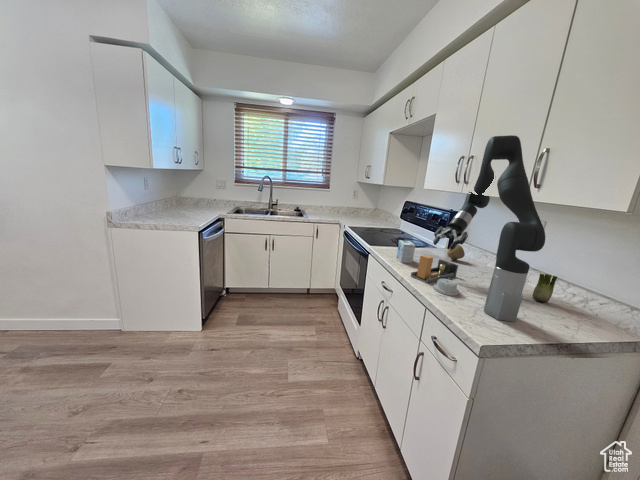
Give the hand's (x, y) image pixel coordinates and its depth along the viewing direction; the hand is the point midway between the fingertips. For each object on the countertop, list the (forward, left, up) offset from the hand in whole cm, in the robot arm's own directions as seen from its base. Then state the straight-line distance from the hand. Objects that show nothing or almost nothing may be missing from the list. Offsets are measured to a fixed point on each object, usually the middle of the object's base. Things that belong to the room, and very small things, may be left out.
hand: (442, 246), depth 123 cm
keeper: (+4, -5, -15) cm, 16 cm away
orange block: (-6, +7, -14) cm, 17 cm away
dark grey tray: (-2, +2, -15) cm, 15 cm away
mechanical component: (-18, +2, -16) cm, 24 cm away
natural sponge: (+34, -22, -15) cm, 43 cm away
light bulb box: (+21, +11, -15) cm, 28 cm away
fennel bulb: (-17, -37, -15) cm, 43 cm away
